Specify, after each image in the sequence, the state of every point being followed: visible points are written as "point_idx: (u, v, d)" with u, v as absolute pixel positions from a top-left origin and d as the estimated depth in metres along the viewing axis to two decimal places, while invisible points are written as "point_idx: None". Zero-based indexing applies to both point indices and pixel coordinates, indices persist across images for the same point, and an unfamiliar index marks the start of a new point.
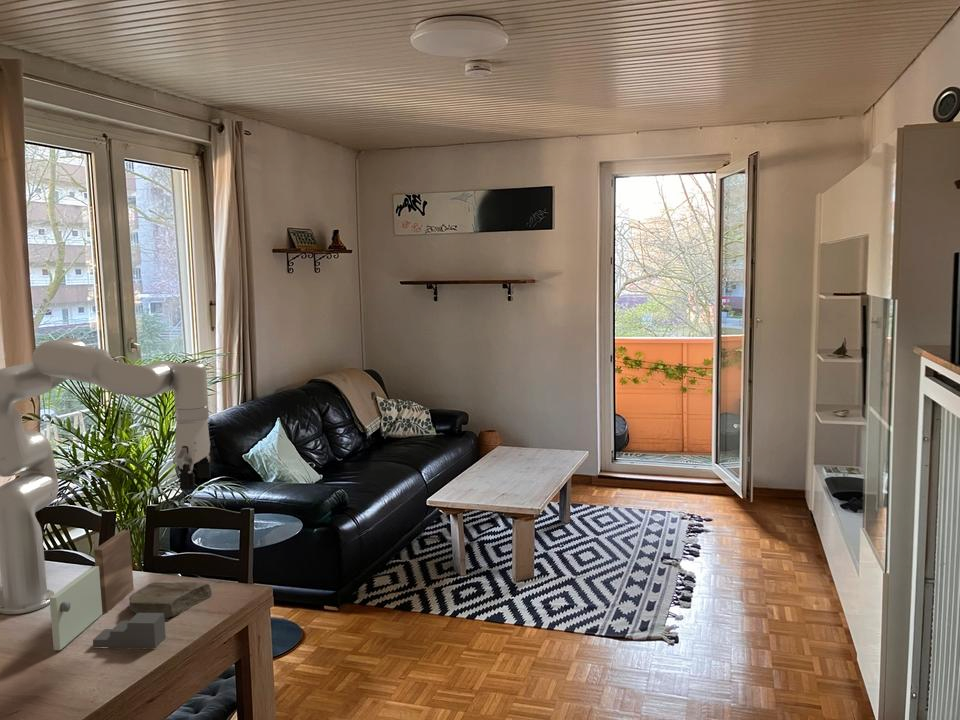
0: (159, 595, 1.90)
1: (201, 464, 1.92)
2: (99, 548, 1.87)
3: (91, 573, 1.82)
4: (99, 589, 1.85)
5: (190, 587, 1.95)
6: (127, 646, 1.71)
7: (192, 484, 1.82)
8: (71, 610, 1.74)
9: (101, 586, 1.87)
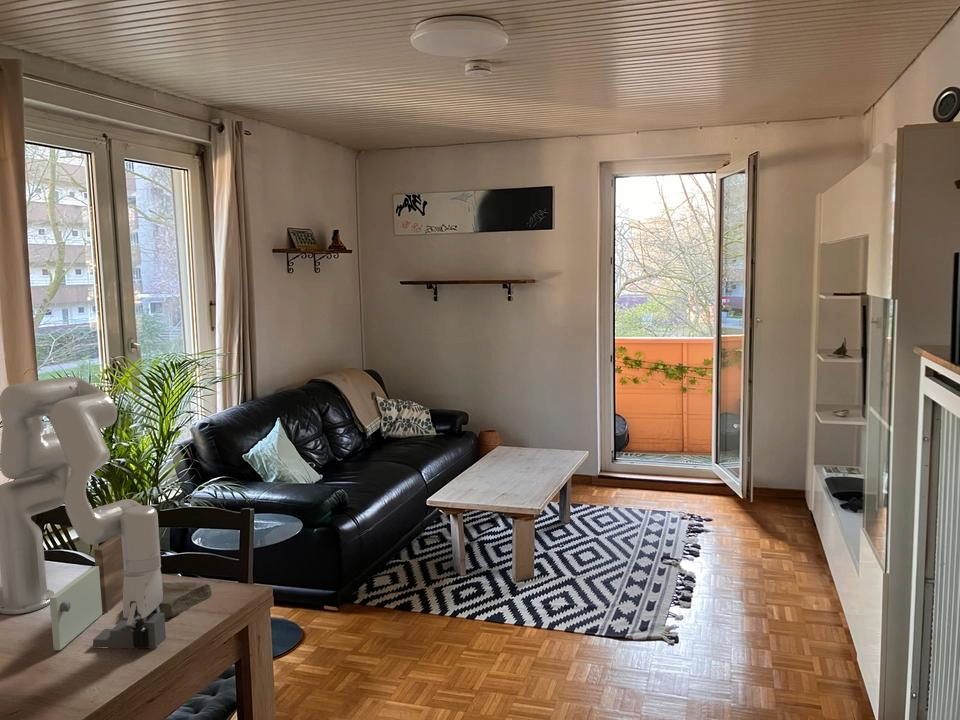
0: None
1: None
2: (99, 548, 1.87)
3: (91, 573, 1.82)
4: (99, 589, 1.85)
5: (190, 587, 1.95)
6: (127, 646, 1.71)
7: (146, 642, 1.70)
8: (71, 610, 1.74)
9: (101, 586, 1.87)
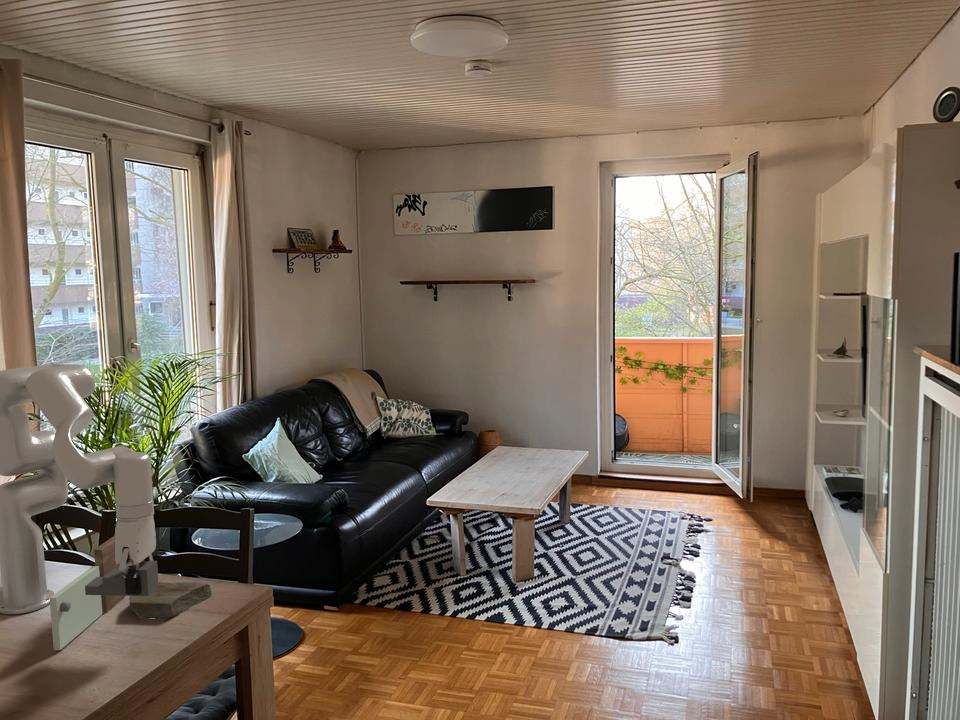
0: (159, 595, 1.90)
1: None
2: (99, 548, 1.87)
3: (91, 573, 1.82)
4: None
5: (190, 587, 1.95)
6: (119, 593, 1.69)
7: (138, 589, 1.68)
8: (71, 610, 1.74)
9: None
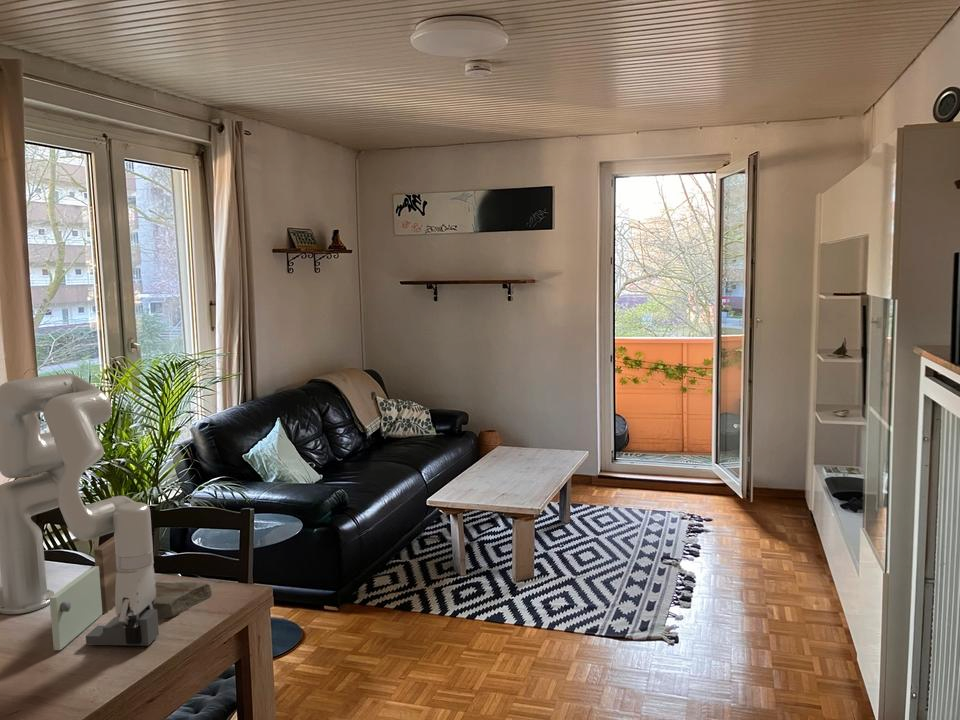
0: (159, 595, 1.90)
1: None
2: (99, 548, 1.87)
3: (91, 573, 1.82)
4: (99, 589, 1.85)
5: (190, 587, 1.95)
6: (120, 643, 1.71)
7: (138, 638, 1.70)
8: (71, 610, 1.74)
9: (101, 586, 1.87)
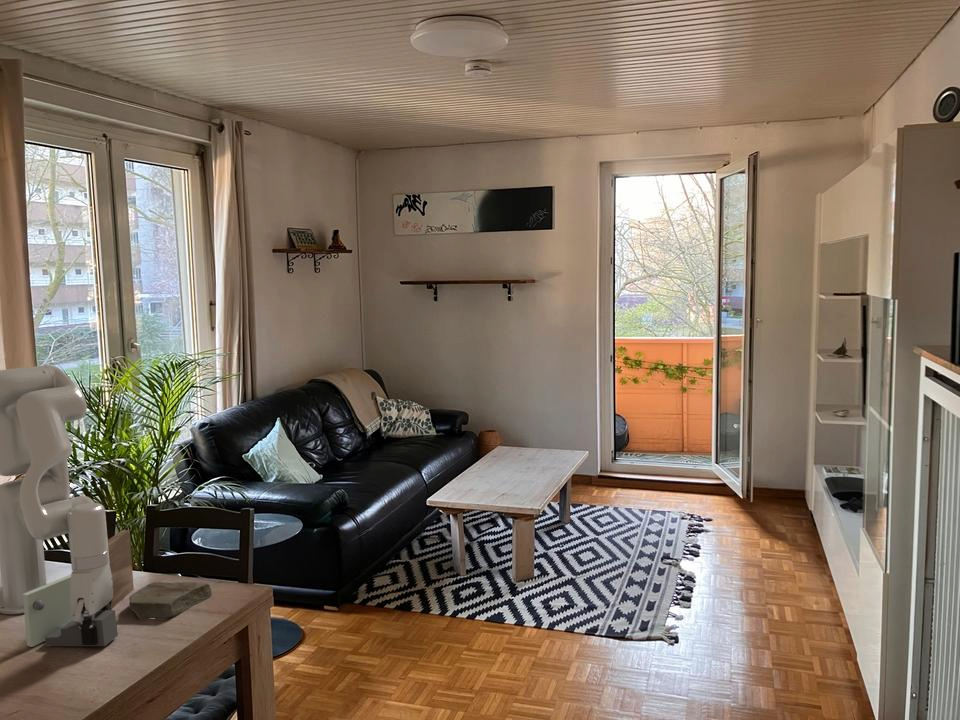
0: (159, 595, 1.90)
1: None
2: None
3: None
4: None
5: (190, 587, 1.95)
6: (77, 644, 1.71)
7: (94, 639, 1.70)
8: (51, 609, 1.75)
9: None
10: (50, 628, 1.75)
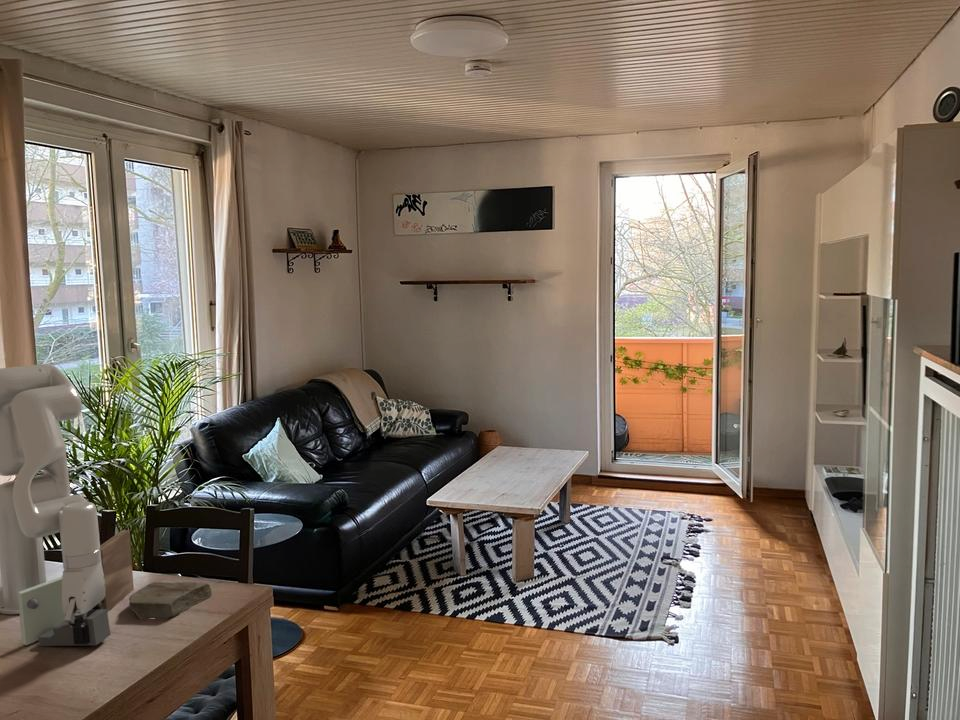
0: (159, 595, 1.90)
1: None
2: None
3: None
4: None
5: (190, 587, 1.95)
6: (70, 643, 1.71)
7: (86, 638, 1.69)
8: (47, 607, 1.75)
9: None
10: (46, 627, 1.75)
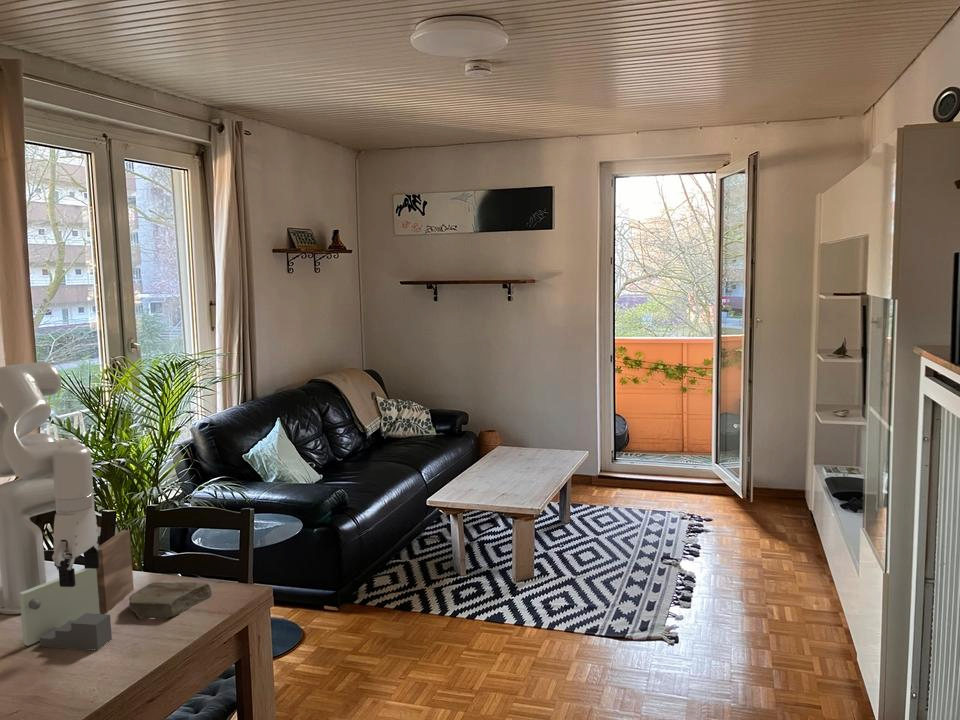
0: (159, 595, 1.90)
1: (88, 554, 1.76)
2: (99, 548, 1.87)
3: (83, 573, 1.82)
4: (96, 589, 1.85)
5: (190, 587, 1.95)
6: (71, 646, 1.71)
7: (72, 581, 1.67)
8: (48, 608, 1.75)
9: (101, 586, 1.87)
10: (47, 627, 1.75)
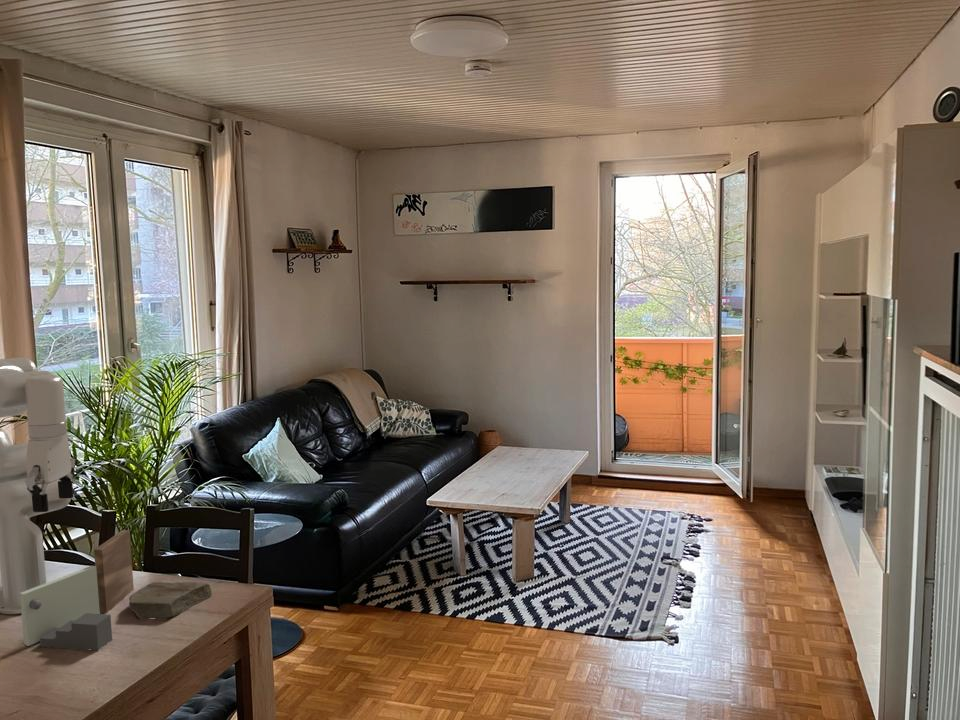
0: (159, 595, 1.90)
1: (62, 483, 1.79)
2: (99, 548, 1.87)
3: (83, 573, 1.82)
4: (96, 589, 1.85)
5: (190, 587, 1.95)
6: (71, 647, 1.71)
7: (45, 506, 1.70)
8: (48, 608, 1.75)
9: (101, 586, 1.87)
10: (47, 627, 1.75)
